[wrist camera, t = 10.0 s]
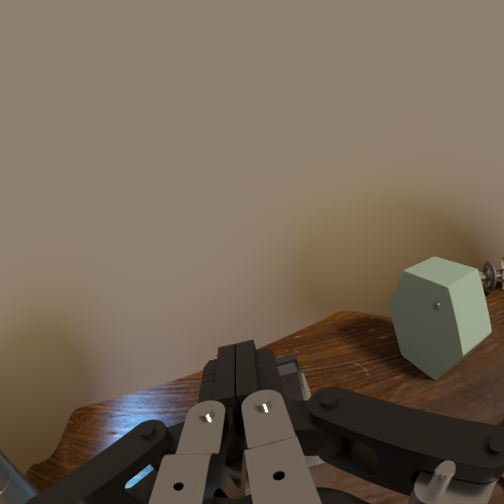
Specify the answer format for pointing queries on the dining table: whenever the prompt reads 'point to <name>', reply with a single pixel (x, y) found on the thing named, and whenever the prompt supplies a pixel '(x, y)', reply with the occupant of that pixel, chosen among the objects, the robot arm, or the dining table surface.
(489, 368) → the dining table surface
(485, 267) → the spaceship
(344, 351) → the dining table surface
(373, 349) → the dining table surface
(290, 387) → the dark grey tapered block
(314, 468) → the white rectangular holder
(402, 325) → the mint hexagonal prism
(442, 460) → the robot arm
